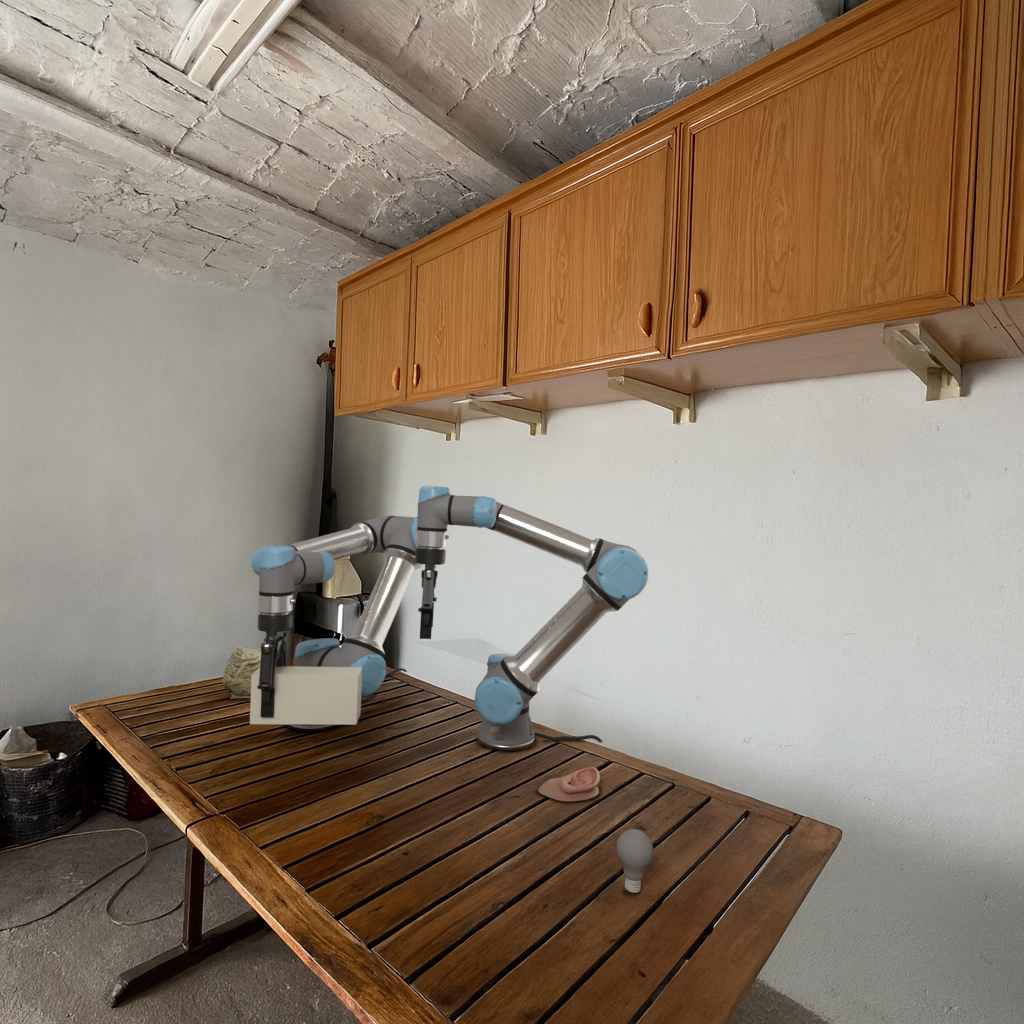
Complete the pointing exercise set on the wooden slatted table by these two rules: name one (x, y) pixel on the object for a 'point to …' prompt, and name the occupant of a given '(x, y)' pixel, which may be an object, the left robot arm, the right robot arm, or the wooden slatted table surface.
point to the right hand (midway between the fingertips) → (426, 632)
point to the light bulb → (634, 857)
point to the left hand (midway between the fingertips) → (272, 710)
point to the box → (311, 696)
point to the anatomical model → (573, 786)
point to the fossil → (241, 671)
